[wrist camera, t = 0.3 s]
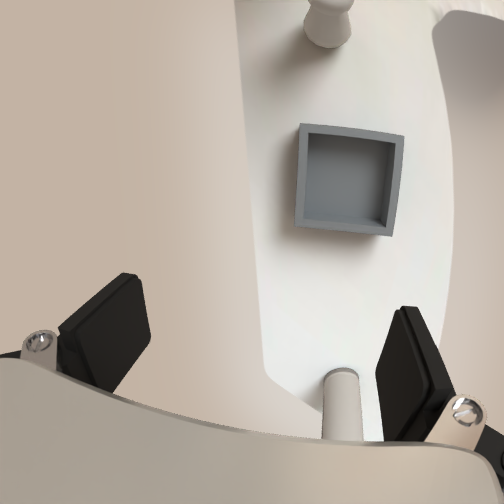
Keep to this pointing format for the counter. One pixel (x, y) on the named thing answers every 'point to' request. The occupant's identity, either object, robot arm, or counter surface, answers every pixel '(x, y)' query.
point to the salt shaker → (328, 22)
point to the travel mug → (342, 406)
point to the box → (348, 179)
